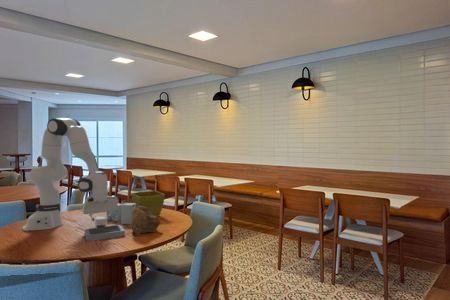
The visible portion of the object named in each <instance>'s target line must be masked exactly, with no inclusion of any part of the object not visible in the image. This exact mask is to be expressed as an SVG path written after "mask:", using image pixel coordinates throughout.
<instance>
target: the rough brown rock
mask: <svg viewBox="0 0 450 300" xmlns="http://www.w3.org/2000/svg"><path fill="white" fill-rule="evenodd" d="M160 222H161V220H160V218H159V217H156V216H153V215H152V214H151V212H150V211H149V210H148V209H147V208H146V207H144V206H138V208H137V209H136V208H135V209H134V210H133V213H132V220H131V224H130V225H131V227H130V228H131V230H132V231H134V234H135V235H141V234H146V233H155V232H156V231H157V229H158V227H159V226H160V224H161V223H160Z"/></svg>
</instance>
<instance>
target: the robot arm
mask: <svg viewBox="0 0 450 300" xmlns="http://www.w3.org/2000/svg"><path fill="white" fill-rule="evenodd" d="M64 137H67V138H68V143H69V148H70V151H71V154H72V155H73V156H74V157H75V158H77V159H80V160H82V161H84V163H85V164H86V167H87V169H88V174H89V175H86V176H84V177H81V178H79V180H78V181H77V188H78V190H79V191H80V192H81V193H90V192H92V194H91V195H88V196H86V197H84V203H83V206H82V213H83V215H89V217H90V218H91V222H95V217H93V214H100V213H101V214H102V213H107V212H109V213H110V214H109V216H108V219H110V216H111V214H112V211H117V210H118V205H117V203H119V197H117V196H115V195H114V196H109V190H108V185H109V184H108V176H107V173H106V172H105V171H101V170H100V168H99V166H98V163H97V159H96V156H95V154H94V152H93V151H92V148H91V146H90V142H89V137H88V135H87V131H86V129H85V128H84V127H83V126H82V125H81V123H80V121H79V120H77V119H75V118H69V117H53V118H51V119H49V120H48V122H47V124H46V129H44V133H43V135H42V142H41V143H42V144H41V157H42V158H43V159H44V160H45V162H46V165H41V166H38V167H37V166H36V167H34V168H32V169H31V170H30V171H29V180H30V182H32V183H33V184H34V185H35V186H36V188H37V189H38V192H39V202H40V203H39V204H36V206H35V208H36V211H35V212H34V213H32V214H31V215H30V216H28V218H27V220H26V224H25V225H23V226H22V231H24V232H29V230H30V231H40V230H41V231H42V230H52V229H54V228H57V227H60V226H61V227H62V225H64V224H63V221H62V215H61V211H62V209H61V207H62V205H61V202H60V201H61V200H60V191H59V189H58V188H55V185H54V183H55V182H60V181H63V180H65V179H66V178H67V177H68V174H69V173H68V172H69V171H68V168H67V166H65V165H64V164H63V163H64V162H63V160H62V145H63V144H62V143H63V138H64Z"/></svg>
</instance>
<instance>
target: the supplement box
mask: <svg viewBox="0 0 450 300" xmlns="http://www.w3.org/2000/svg"><path fill="white" fill-rule="evenodd" d="M122 204H123V205H121V219H122V220H121V224H122V225H123V224H124V225H131V220H132V213H133V210H134V209H135V208H136V203H133V202H126V203H122Z"/></svg>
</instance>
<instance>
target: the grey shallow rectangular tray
mask: <svg viewBox="0 0 450 300" xmlns="http://www.w3.org/2000/svg"><path fill="white" fill-rule="evenodd" d="M125 232H126V230H125V229H124V228H123V227H122V226H121V225H120V224H117V225H110V226H109V225H108V226H107V225H106V227H99V228H95V227H93V228H87V229H84V236H85V239H86V241H87V242H91V241H97V240H99V241H100V240H103V239H105V240H106V239H110V238H111V239H113V238H119V237H125V235H126V233H125Z"/></svg>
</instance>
